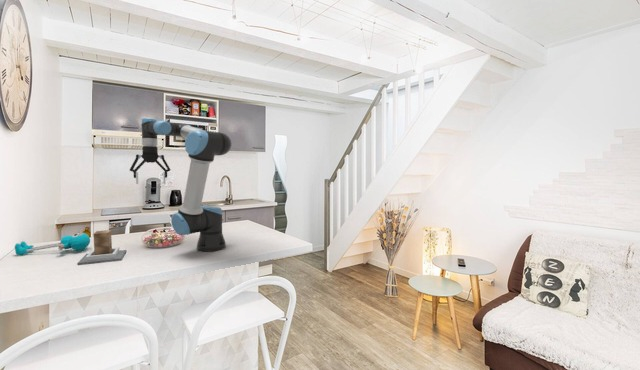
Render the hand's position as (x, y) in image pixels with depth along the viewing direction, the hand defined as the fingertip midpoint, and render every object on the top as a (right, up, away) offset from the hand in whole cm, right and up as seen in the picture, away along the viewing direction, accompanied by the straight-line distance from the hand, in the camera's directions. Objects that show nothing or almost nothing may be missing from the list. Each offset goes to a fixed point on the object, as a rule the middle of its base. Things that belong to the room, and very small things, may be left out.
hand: (151, 183), depth 173 cm
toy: (-41, -36, -16) cm, 57 cm away
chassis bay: (-10, -37, -24) cm, 45 cm away
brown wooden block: (-10, -36, -24) cm, 44 cm away
